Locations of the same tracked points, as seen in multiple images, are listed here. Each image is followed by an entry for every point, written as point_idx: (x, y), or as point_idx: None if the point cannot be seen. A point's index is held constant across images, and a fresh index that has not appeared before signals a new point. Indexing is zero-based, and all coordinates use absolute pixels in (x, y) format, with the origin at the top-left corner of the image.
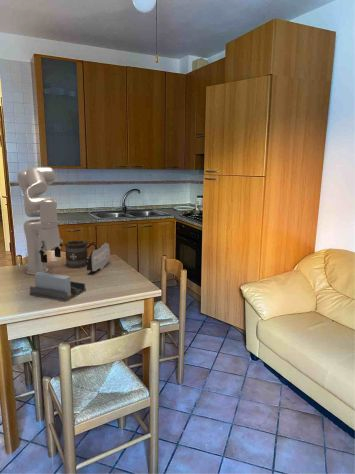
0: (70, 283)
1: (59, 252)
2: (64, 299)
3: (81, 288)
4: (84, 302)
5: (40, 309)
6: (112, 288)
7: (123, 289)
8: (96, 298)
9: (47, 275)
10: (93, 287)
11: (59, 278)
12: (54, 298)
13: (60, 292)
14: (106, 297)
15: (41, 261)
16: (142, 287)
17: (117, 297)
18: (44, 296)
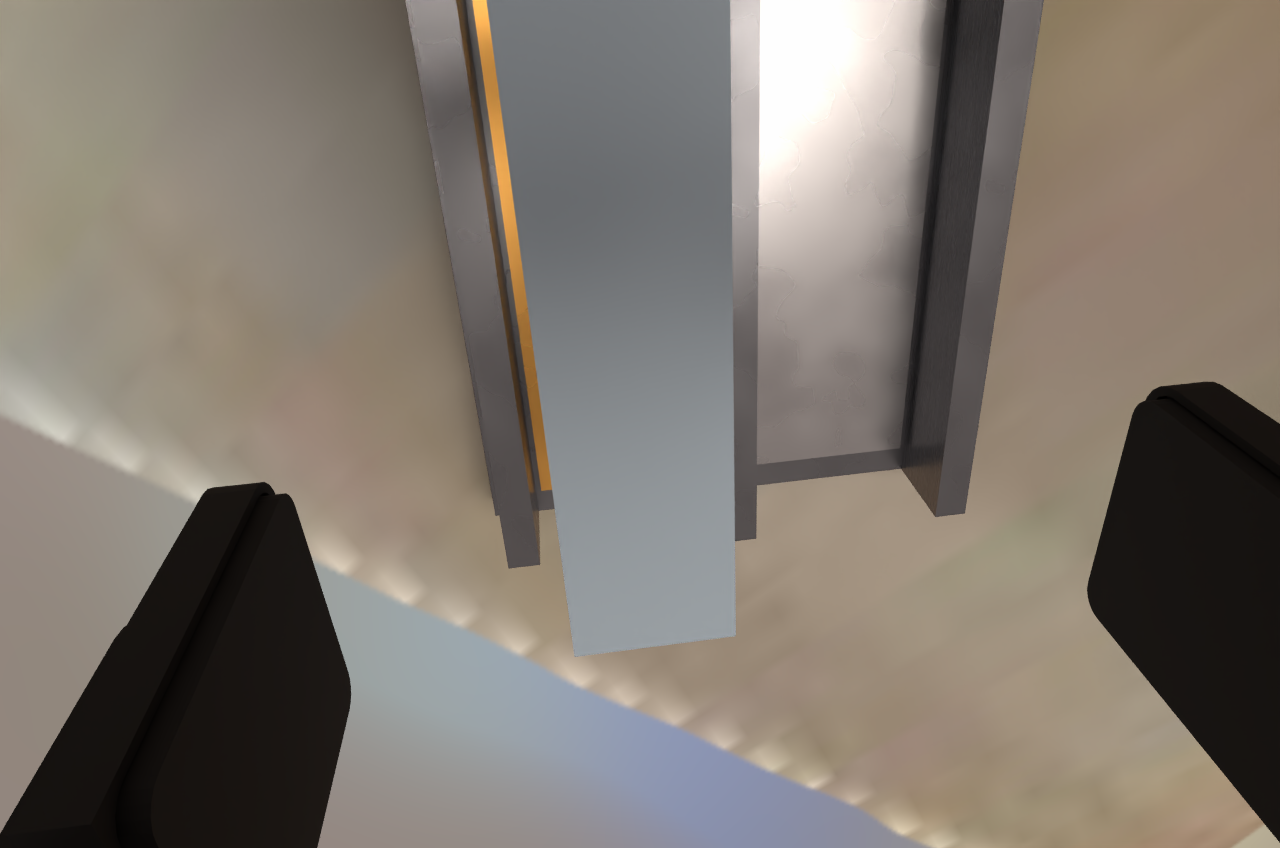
0: (953, 268)
1: (1232, 772)
2: (492, 495)
3: (908, 436)
4: (592, 663)
5: (111, 414)
6: (1078, 642)
7: (1074, 734)
8: (745, 685)
9: (570, 200)
10: (1063, 455)
11: (562, 551)
12: (466, 332)
13: (494, 479)
14: (810, 737)
15: (216, 505)
16: (1165, 820)
17: (849, 802)
18: (430, 136)
